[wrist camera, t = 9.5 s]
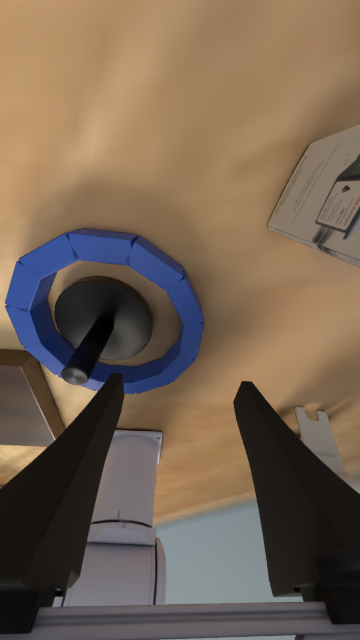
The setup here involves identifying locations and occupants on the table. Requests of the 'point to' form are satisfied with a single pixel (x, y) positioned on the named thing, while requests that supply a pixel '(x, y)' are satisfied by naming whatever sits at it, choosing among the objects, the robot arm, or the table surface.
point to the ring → (113, 248)
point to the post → (101, 324)
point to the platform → (26, 402)
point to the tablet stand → (323, 444)
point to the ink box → (324, 198)
